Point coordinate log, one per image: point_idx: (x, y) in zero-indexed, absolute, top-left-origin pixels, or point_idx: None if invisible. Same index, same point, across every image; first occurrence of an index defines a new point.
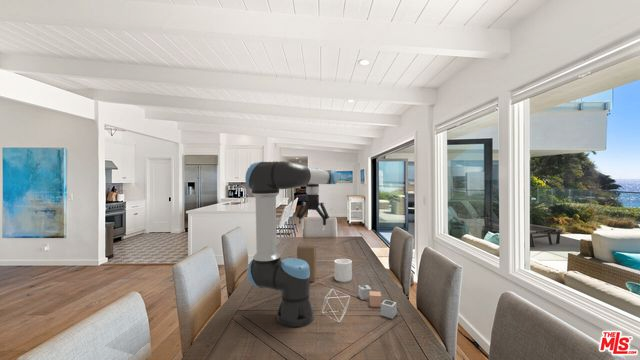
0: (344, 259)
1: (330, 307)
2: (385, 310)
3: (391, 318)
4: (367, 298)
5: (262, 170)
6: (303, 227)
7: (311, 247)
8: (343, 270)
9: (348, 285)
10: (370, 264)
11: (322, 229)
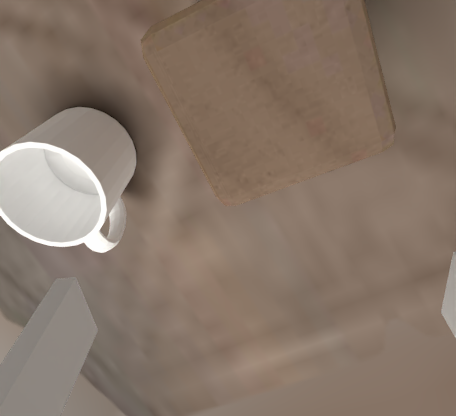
0: (72, 239)
1: None
2: None
3: None
4: None
5: None
6: (452, 326)
7: (163, 26)
8: (29, 132)
9: (9, 78)
10: (103, 365)
11: (48, 296)
